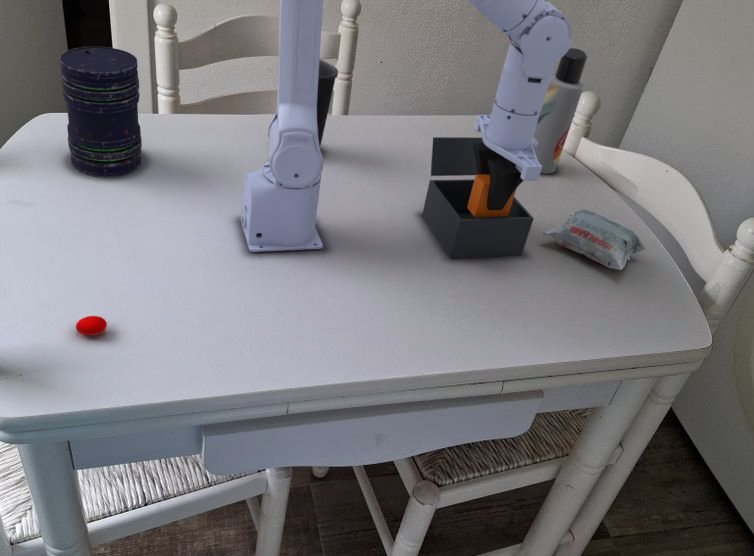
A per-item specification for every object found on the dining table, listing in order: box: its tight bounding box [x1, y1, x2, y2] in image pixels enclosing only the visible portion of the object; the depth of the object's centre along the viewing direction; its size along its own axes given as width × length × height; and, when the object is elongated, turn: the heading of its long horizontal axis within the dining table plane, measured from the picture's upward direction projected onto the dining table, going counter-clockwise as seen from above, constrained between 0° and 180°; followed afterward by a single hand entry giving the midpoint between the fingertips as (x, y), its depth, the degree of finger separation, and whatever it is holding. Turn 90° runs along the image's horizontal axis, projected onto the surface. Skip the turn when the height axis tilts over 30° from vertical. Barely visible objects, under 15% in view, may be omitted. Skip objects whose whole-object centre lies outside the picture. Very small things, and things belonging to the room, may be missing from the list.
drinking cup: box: [317, 59, 339, 147], centre depth 108 cm, size 8×8×20 cm
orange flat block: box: [467, 174, 518, 217], centre depth 93 cm, size 5×2×5 cm, turn 106°
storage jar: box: [59, 46, 143, 178], centre depth 98 cm, size 10×10×15 cm
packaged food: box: [542, 209, 646, 271], centre depth 99 cm, size 9×12×5 cm
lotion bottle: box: [533, 47, 588, 175], centre depth 115 cm, size 6×6×20 cm
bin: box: [421, 178, 535, 260], centre depth 98 cm, size 11×11×6 cm
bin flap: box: [430, 136, 483, 177], centre depth 99 cm, size 5×11×1 cm
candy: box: [75, 315, 108, 336], centre depth 72 cm, size 3×2×2 cm, turn 103°
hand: (489, 203), depth 94 cm, fingers closed on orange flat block, 2 cm apart
